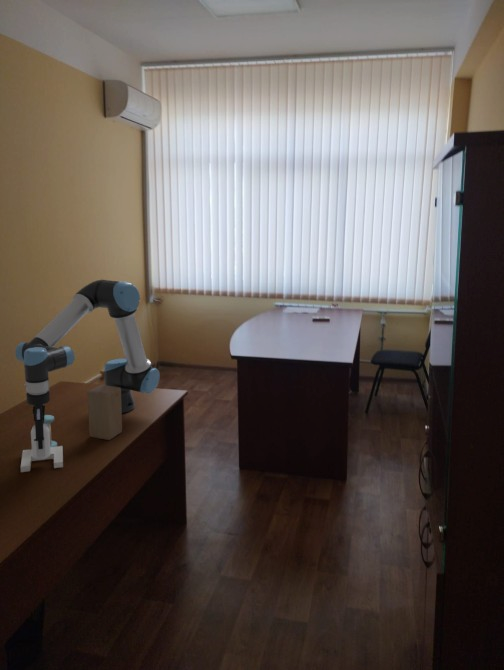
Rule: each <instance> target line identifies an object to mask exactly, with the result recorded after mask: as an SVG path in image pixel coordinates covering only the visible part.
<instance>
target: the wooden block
mask: <svg viewBox="0 0 504 670" xmlns="http://www.w3.org/2000/svg"><path fill="white" fill-rule="evenodd" d="M87 391H88V392H87V410H88V432H89V437H90V438H95V439H99V440H100V439H101V440H105V441H110V440H112V439H114V438H115V437H117V436H118V435H120V434H121V433H122V432H123V419H122V418H123V416H122V414H123V413H122V408H121V388H120V387H113V386H107V385H105V384H100V385H98V386H96V387H94V388H92V389H90V390H87Z"/></svg>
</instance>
